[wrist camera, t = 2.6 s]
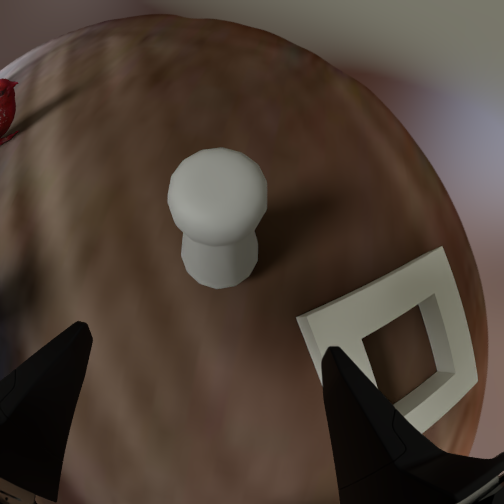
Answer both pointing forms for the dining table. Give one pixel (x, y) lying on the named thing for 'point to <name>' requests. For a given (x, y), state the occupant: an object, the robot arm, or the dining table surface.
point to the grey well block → (389, 308)
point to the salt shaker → (218, 214)
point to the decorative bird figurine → (6, 107)
